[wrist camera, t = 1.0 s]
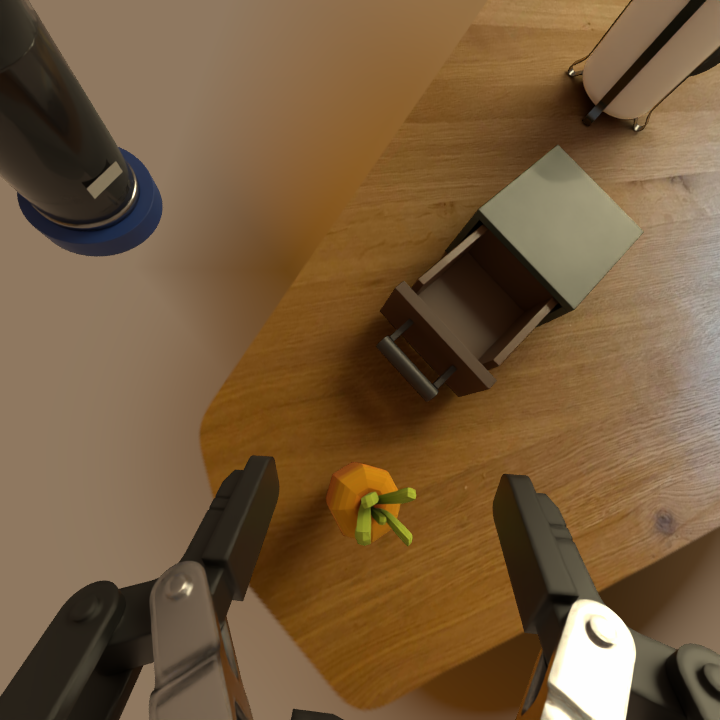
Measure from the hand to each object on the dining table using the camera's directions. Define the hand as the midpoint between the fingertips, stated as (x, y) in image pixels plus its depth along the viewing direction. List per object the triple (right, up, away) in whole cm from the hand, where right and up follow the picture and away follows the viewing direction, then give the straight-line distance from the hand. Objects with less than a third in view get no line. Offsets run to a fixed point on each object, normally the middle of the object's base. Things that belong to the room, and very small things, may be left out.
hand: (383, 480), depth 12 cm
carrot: (-2, -8, +20) cm, 22 cm away
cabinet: (+19, +17, +30) cm, 40 cm away
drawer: (+9, +8, +25) cm, 27 cm away
